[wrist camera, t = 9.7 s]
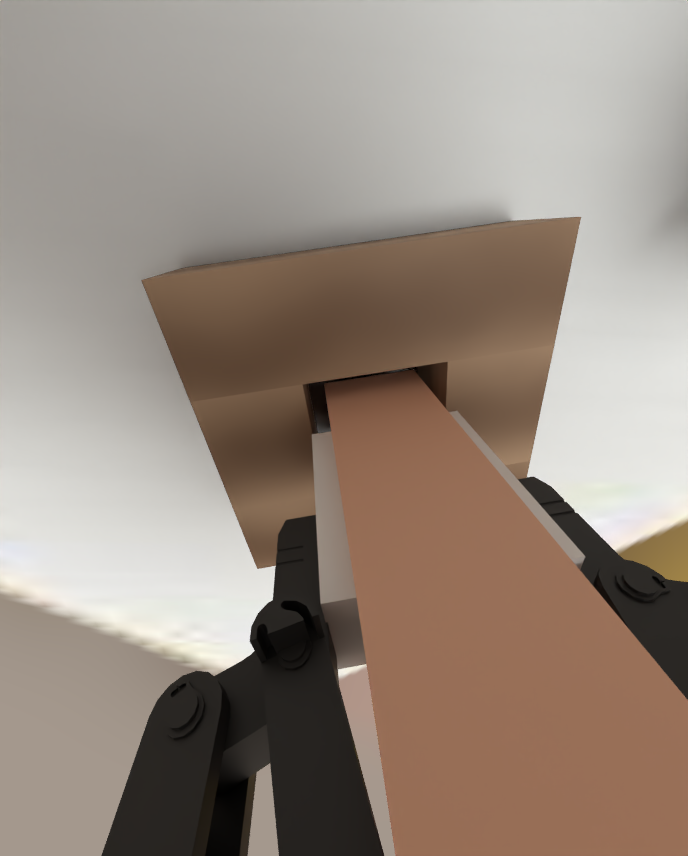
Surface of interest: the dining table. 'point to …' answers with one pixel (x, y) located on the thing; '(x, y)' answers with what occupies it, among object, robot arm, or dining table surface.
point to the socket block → (362, 346)
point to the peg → (494, 654)
